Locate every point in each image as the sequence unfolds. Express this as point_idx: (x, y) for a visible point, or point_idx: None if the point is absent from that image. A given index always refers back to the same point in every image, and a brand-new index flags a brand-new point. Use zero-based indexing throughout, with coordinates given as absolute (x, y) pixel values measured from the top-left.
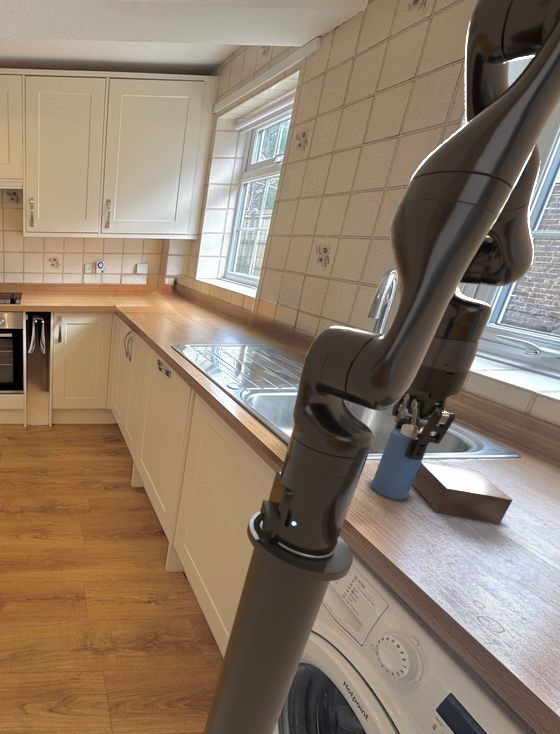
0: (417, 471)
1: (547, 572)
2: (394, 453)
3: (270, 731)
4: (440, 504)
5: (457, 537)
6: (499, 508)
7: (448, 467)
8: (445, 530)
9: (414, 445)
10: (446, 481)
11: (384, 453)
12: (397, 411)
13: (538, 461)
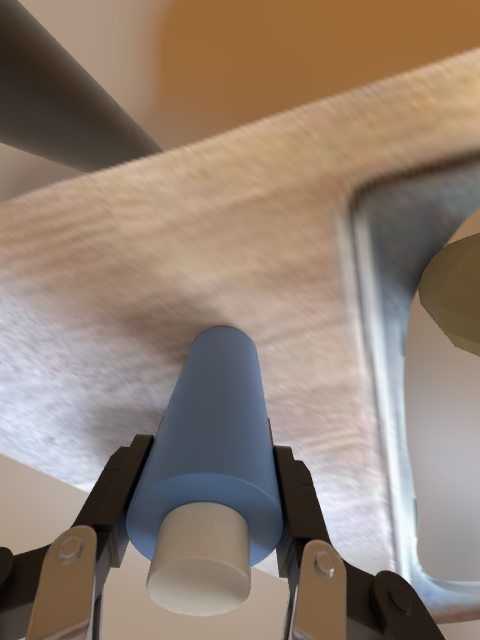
0: (272, 445)
1: (47, 471)
2: (179, 409)
3: None
4: (160, 424)
5: (85, 401)
6: None
7: None
8: (101, 393)
9: (104, 497)
10: None
11: (221, 386)
12: (387, 635)
13: None
